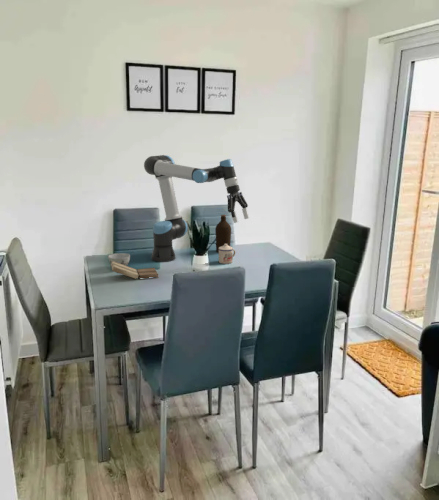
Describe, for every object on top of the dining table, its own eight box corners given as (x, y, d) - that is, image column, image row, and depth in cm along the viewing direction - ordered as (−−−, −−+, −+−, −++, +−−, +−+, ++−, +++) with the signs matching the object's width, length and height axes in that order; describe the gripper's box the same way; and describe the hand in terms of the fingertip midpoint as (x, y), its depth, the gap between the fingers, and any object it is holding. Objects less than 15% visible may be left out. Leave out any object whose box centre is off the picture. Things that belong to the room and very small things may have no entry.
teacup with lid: (223, 265, 270) (224, 246, 267) (215, 261, 277) (215, 243, 274) (239, 261, 277) (239, 243, 274) (230, 258, 284) (230, 240, 281)
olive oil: (233, 250, 302) (234, 214, 296) (226, 254, 293) (226, 217, 287) (220, 248, 307) (220, 213, 301) (212, 252, 299) (212, 215, 292)
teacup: (134, 268, 261) (134, 255, 259) (115, 273, 254) (114, 259, 252) (122, 263, 272) (121, 250, 270) (103, 266, 265) (102, 254, 263)
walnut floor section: (137, 273, 254) (136, 269, 253) (154, 271, 257) (154, 267, 256) (140, 279, 243) (139, 275, 242) (158, 277, 246) (158, 273, 245)
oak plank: (110, 264, 248) (112, 260, 248) (134, 272, 253) (135, 269, 253) (112, 270, 237) (114, 267, 237) (137, 279, 242) (138, 275, 242)
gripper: (226, 186, 249) (236, 222, 251) (247, 182, 269) (256, 215, 271) (215, 189, 253) (225, 225, 255) (237, 185, 274) (245, 218, 276)
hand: (241, 220), depth 263 cm, fingers open, 13 cm apart
